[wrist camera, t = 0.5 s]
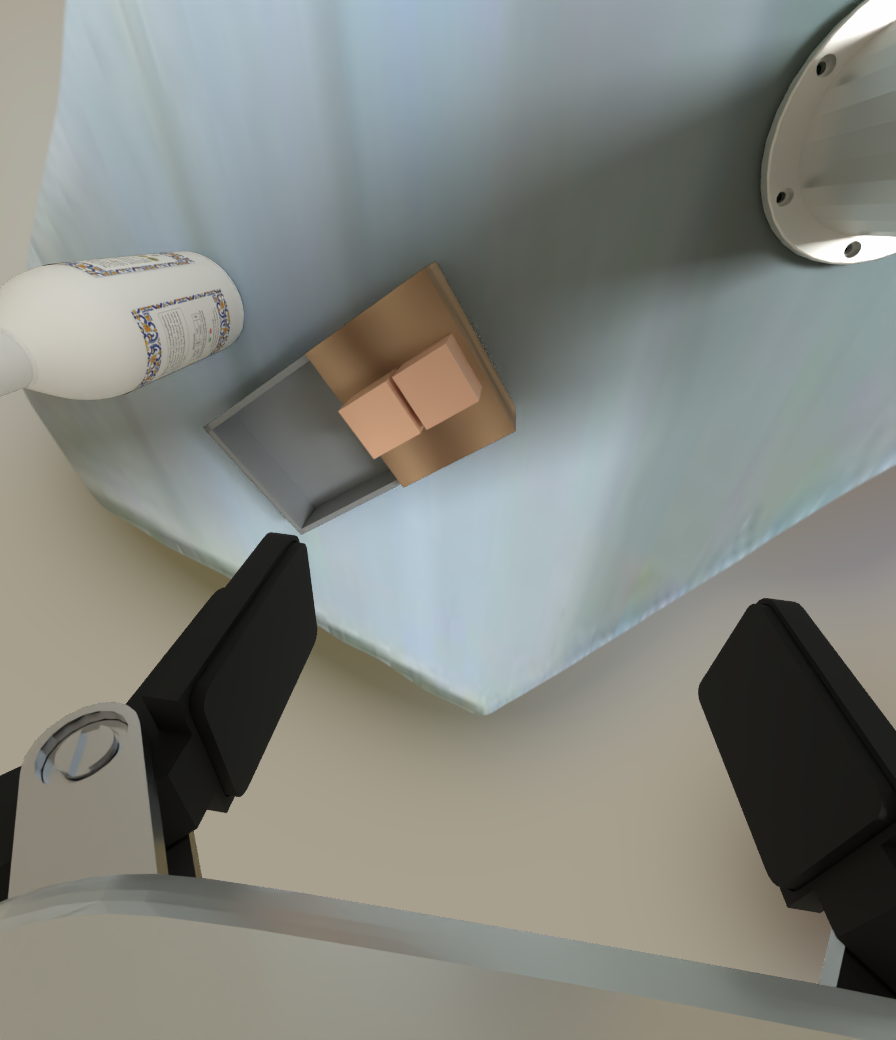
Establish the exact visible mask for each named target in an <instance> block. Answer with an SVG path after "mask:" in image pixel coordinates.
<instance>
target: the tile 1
mask: <svg viewBox="0 0 896 1040" xmlns="http://www.w3.org/2000/svg"><path fill="white" fill-rule="evenodd" d="M392 378H393V380H394V381H395V383H396V384H397V386H398V387H399V389H400V390H401V392H402V393H403V395H404V396H405V398H406V399H407V401H408V402H409V404H410V405H411V407H412V409H413V410H414V412H415V413H416V415H417V416H418V418H419V419H420V421H421V422H422V424H423V425H424V427H425V428H426V430H428V429H430V428H431V427H433V426H435V425H437V424H439V423H440V422H442V421H444V420H446V419H448V418H449V417H451V416H453V415H455V414H457V413H459V412H460V411H462V410H464V409H466V408H468V407H469V406H471V405H473V404H475V403H477V402H478V401H479V399H480V394H481V389H482V385H481V384H480V382H479V380H478V378H477V377H476V375H475V373H474V371H473V370H472V368H471V366H470V364H469V362H468V361H467V359H466V357H465V355H464V354H463V352H462V350H461V348H460V347H459V345H458V343H457V341H456V340H455V338H454V336H453V334H452V333H451V334H449V335H447V336H446V337H444V338H443V339H441V340H440V341H438V342H436V343H435V344H433V345H432V346H430V347H429V348H427V349H425V350H424V351H422V352H421V353H419V354H418V355H416V356H414V357H413V358H411V359H410V360H408V361H407V362H405V363H403V364H402V365H401V366H400V368H399V369H398V370H397V371H396V373H395V374H394V375H393V377H392Z"/></svg>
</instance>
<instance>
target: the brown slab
mask: <svg viewBox="0 0 896 1040" xmlns="http://www.w3.org/2000/svg"><path fill="white" fill-rule="evenodd" d="M451 333H452V334H453V336H454V338H455V340H456V341H457V343H458V345H459V347H460V348H461V350H462V352H463V354H464V355H465V357H466V359H467V361H468V362H469V364H470V366H471V368H472V370H473V371H474V373H475V375H476V377H477V378H478V380H479V382H480V384H481V385H482V389H481V394H480V399H479V401H478V402H477V403H475V404H473V405H471V406H469V407H468V408H466V409H464V410H462V411H460V412H459V413H457V414H455V415H453V416H451V417H449V418H448V419H446V420H444V421H442V422H440V423H439V424H437V425H435V426H433V427H431V428H430V429H428V430H426V428H425V427H423V429H422V431H421V433H420V434H419V435H417V436H415V437H413V438H411V439H410V440H408V441H406V442H404V443H402V444H401V445H399V446H397V447H395V448H393V449H391V450H390V451H388V452H386V453H384V454H382V455H381V458H382V459H383V461H384V462H385V463H386V465H387V466H388V467H389V469H390V470H391V471H392V473H393V474H394V476H395V477H396V478H397V480H398V481H399V482H400V484H401V485H402V486H403V488H404V487H406V486H408V485H410V484H412V483H414V482H416V481H418V480H420V479H422V478H424V477H426V476H428V475H430V474H432V473H434V472H436V471H437V470H439V469H441V468H443V467H445V466H447V465H449V464H451V463H453V462H455V461H457V460H459V459H461V458H463V457H465V456H467V455H469V454H471V453H473V452H475V451H477V450H479V449H481V448H483V447H485V446H487V445H489V444H491V443H493V442H495V441H497V440H499V439H501V438H503V437H505V436H507V435H509V434H511V433H513V432H515V431H516V407H515V405H514V403H513V401H512V399H511V398H510V396H509V394H508V392H507V390H506V388H505V387H504V385H503V383H502V381H501V379H500V377H499V376H498V374H497V372H496V370H495V368H494V366H493V365H492V363H491V361H490V359H489V357H488V355H487V353H486V352H485V350H484V348H483V346H482V344H481V342H480V341H479V339H478V337H477V335H476V333H475V331H474V330H473V328H472V326H471V324H470V322H469V320H468V319H467V317H466V315H465V313H464V311H463V309H462V307H461V306H460V304H459V302H458V300H457V298H456V296H455V295H454V293H453V291H452V289H451V287H450V285H449V284H448V282H447V280H446V278H445V276H444V274H443V273H442V271H441V269H440V267H439V265H438V263H437V262H436V261H435V262H434V263H432V264H430V265H428V266H426V267H425V268H423V269H422V270H420V271H419V272H418V273H416V274H415V275H414V276H412V277H411V278H409V279H408V280H407V281H405V282H404V283H402V284H401V285H400V286H398V287H397V288H396V289H394V290H393V291H391V292H390V293H389V294H387V295H386V296H384V297H383V298H382V299H380V300H379V301H377V302H376V303H375V304H373V305H372V306H371V307H369V308H368V309H366V310H365V311H364V312H362V313H361V314H359V315H358V316H357V317H355V318H354V319H353V320H351V321H350V322H348V323H347V324H346V325H344V326H343V327H341V328H340V329H339V330H337V331H336V332H335V333H333V334H332V335H330V336H329V337H328V338H326V339H325V340H323V341H322V342H321V343H319V344H318V345H317V346H315V347H314V348H312V349H311V350H310V351H308V352H307V353H305V354H306V356H307V357H308V358H309V360H310V361H311V362H312V364H313V365H314V367H315V368H316V369H317V371H318V372H319V373H320V375H321V376H322V377H323V379H324V380H325V382H326V383H327V384H328V386H329V387H330V388H331V390H332V391H333V392H334V394H335V395H336V396H337V398H338V399H339V401H340V402H341V403H342V405H344V404H345V403H346V402H347V401H348V400H349V399H350V398H351V397H352V396H353V395H355V394H356V393H358V392H359V391H361V390H363V389H364V388H366V387H367V386H369V385H370V384H372V383H374V382H375V381H377V380H378V379H380V378H381V377H383V376H385V375H386V374H388V373H389V372H391V371H392V370H394V369H397V370H398V369H399V368H400V366H401V365H402V364H403V363H405V362H407V361H408V360H410V359H411V358H413V357H414V356H416V355H418V354H419V353H421V352H422V351H424V350H425V349H427V348H429V347H430V346H432V345H433V344H435V343H436V342H438V341H440V340H441V339H443V338H444V337H446V336H447V335H449V334H451Z"/></svg>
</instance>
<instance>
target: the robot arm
mask: <svg viewBox="0 0 896 1040" xmlns="http://www.w3.org/2000/svg"><path fill="white" fill-rule="evenodd" d="M818 64H820V65H821V67H822V68H821V72H820V74H819V75H817V73H816V69H817V65H818ZM779 193H781V194H782V198H781V200H780V201H779V202H778V203H776V200H777V196H778V194H779ZM761 196H762V202H763V208H764V213H765V215H766V217H767V220H768V222H769V225H770V227H771V229H772V231H773V232H774V233H775V235H776V236H777V237H778V239H779V240H780V241H781V243H782V244H783V245H785V246H786V247H787V248H789V249H790V250H791V251H793V252H794V253H795V254H797V255H799V256H802V257H804V258H807V259H810V260H812V261H817V262H823V263H828V264H841V265H851V264H857V263H863V262H869V261H875V260H878V259H881V258H884V257H887V256H890V255H893V254H896V0H864V1H862V2H861V3H860V4H859V5H858V6H857V7H856V8H854V9H853V10H852V11H851V12H850V13H849V14H848V15H847V16H846V17H844V18H843V19H842V20H841V21H840V22H839V23H838V24H837V25H836V26H835V27H834V28H833V29H832V30H831V31H830V32H829V33H828V35H827V36H826V37H825V38H824V39H823V40H822V41H821V43H820V44H819V45H818V46H817V47H816V48H815V50H814V51H813V52H812V53H811V54H810V56H809V57H808V59H807V60H806V62H805V63H804V65H803V66H802V68H801V69H800V71H799V72H798V74H797V75H796V77H795V78H794V79H793V81H792V82H791V84H790V86H789V88H788V90H787V92H786V94H785V96H784V98H783V100H782V102H781V104H780V106H779V108H778V110H777V112H776V115H775V118H774V120H773V123H772V126H771V129H770V132H769V134H768V137H767V140H766V145H765V150H764V155H763V160H762V165H761ZM847 245H848V249H847V250H846V252H844V250H845V248H846V247H847ZM316 636H317V623H316V615H315V608H314V600H313V592H312V584H311V577H310V569H309V561H308V553H307V547H306V545H305V544H304V543H300V542H299V539H298V537H297V536H295V535H287V534H280V533H272V532H270V533H268V534H267V535H266V536H265V537H264V538H263V539H262V541H261V542H260V543H259V544H258V546H257V547H256V548H255V550H254V551H253V552H252V553H251V555H250V556H249V557H248V559H247V560H246V561H245V562H244V564H243V565H242V566H241V568H240V569H239V570H238V571H237V573H236V574H235V575H234V577H233V578H232V579H231V580H230V582H229V583H228V584H227V586H226V587H225V588H221V589H219V590H217V591H216V592H215V593H214V594H213V595H212V596H211V598H210V599H209V600H208V602H207V603H206V604H205V605H204V606H203V608H202V609H201V610H200V611H199V613H198V614H197V615H196V616H195V618H194V619H193V620H192V622H191V623H190V624H189V625H188V627H187V628H186V629H185V630H184V632H183V633H182V634H181V636H180V637H179V638H178V639H177V640H176V642H175V643H174V644H173V645H172V647H171V648H170V649H169V651H168V652H167V653H166V654H165V655H164V657H163V658H162V659H161V661H160V662H159V663H158V664H157V666H156V667H155V668H154V669H153V671H152V672H151V673H150V674H149V676H148V677H147V678H146V679H145V681H144V682H143V683H142V685H141V686H140V687H139V688H138V690H137V691H136V692H135V693H134V694H133V696H132V697H131V698H130V699H129V701H128V702H127V703H126V705H125V704H121V703H117V702H107V703H98V704H94V705H91V706H87V707H83V708H81V709H79V710H77V711H75V712H73V713H70V714H68V715H66V716H65V717H63V718H62V719H60V720H59V721H57V722H56V723H55V724H53V725H52V726H50V727H49V728H48V729H47V730H46V731H45V732H44V733H43V734H42V735H41V736H40V737H39V738H38V739H37V740H36V741H35V742H34V743H33V745H32V747H31V748H30V749H29V751H28V752H27V754H26V755H25V757H24V761H23V764H22V766H20V767H18V768H16V769H14V770H11V771H9V772H7V773H5V774H3V775H1V776H0V1040H896V731H895V729H894V728H893V727H892V725H891V724H890V723H889V721H888V720H887V719H886V717H885V716H884V715H883V713H882V712H881V711H880V709H879V708H878V707H877V705H876V704H875V703H874V701H873V700H872V699H871V697H870V696H869V695H868V693H867V692H866V691H865V689H864V688H863V687H862V685H861V684H860V683H859V681H858V680H857V679H856V677H855V676H854V675H853V673H852V672H851V671H850V669H849V668H848V667H847V665H846V664H845V663H844V662H843V660H842V659H841V658H840V656H839V655H838V654H837V652H836V651H835V650H834V648H833V647H832V646H831V644H830V643H829V642H828V640H827V639H826V638H825V636H824V635H823V634H822V632H821V631H820V630H819V628H818V627H817V626H816V624H815V623H814V622H813V620H812V619H811V618H810V616H809V615H808V614H807V612H806V611H805V610H804V608H803V607H802V606H801V605H800V604H798V603H796V602H792V601H784V600H776V599H769V598H763V599H761V600H759V601H758V602H757V603H756V604H752V605H750V606H749V607H748V608H747V610H746V612H745V613H744V615H743V616H742V618H741V619H740V621H739V623H738V624H737V626H736V627H735V629H734V630H733V632H732V634H731V635H730V637H729V638H728V640H727V642H726V643H725V645H724V646H723V648H722V649H721V651H720V653H719V654H718V656H717V657H716V659H715V661H714V662H713V664H712V665H711V667H710V668H709V670H708V672H707V673H706V675H705V676H704V678H703V679H702V681H701V683H700V685H699V689H698V695H699V700H700V703H701V706H702V709H703V711H704V714H705V716H706V719H707V721H708V724H709V726H710V729H711V731H712V734H713V737H714V739H715V742H716V744H717V747H718V749H719V752H720V754H721V757H722V759H723V762H724V765H725V767H726V770H727V772H728V775H729V777H730V780H731V782H732V785H733V788H734V790H735V792H736V795H737V798H738V800H739V803H740V805H741V808H742V811H743V813H744V815H745V818H746V821H747V823H748V826H749V828H750V831H751V833H752V836H753V839H754V841H755V844H756V846H757V849H758V851H759V854H760V856H761V859H762V862H763V864H764V866H765V869H766V871H767V874H768V876H769V877H770V879H771V880H772V882H773V883H774V884H776V885H777V886H779V887H780V890H781V892H782V895H783V897H784V900H785V902H786V904H787V907H788V908H793V909H799V910H805V911H811V912H817V913H821V912H823V911H825V914H826V916H827V918H828V920H829V923H830V925H831V927H832V931H831V935H830V939H829V944H828V948H827V952H826V956H825V960H824V964H823V968H822V972H821V977H820V980H819V984H815V983H809V982H804V981H798V980H792V979H787V978H781V977H775V976H771V975H765V974H760V973H754V972H748V971H743V970H738V969H732V968H727V967H721V966H716V965H710V964H704V963H699V962H693V961H688V960H682V959H677V958H672V957H666V956H661V955H655V954H649V953H644V952H638V951H632V950H627V949H621V948H615V947H610V946H604V945H599V944H593V943H587V942H581V941H576V940H570V939H565V938H559V937H553V936H548V935H541V934H536V933H531V932H524V931H519V930H514V929H508V928H502V927H497V926H490V925H485V924H480V923H474V922H468V921H463V920H456V919H451V918H445V917H439V916H433V915H428V914H422V913H415V912H410V911H404V910H398V909H393V908H387V907H381V906H375V905H369V904H363V903H358V902H352V901H346V900H340V899H334V898H328V897H323V896H317V895H311V894H305V893H299V892H292V891H286V890H279V889H272V888H265V887H259V886H252V885H246V884H239V883H233V882H226V881H219V880H213V879H206V878H202V874H201V869H200V864H199V858H198V852H197V846H196V841H195V835H194V830H195V829H197V828H198V825H199V824H200V822H201V820H202V818H203V816H204V814H205V812H206V810H213V811H218V812H224V813H227V812H228V810H229V807H230V805H231V803H232V801H233V799H234V797H235V796H236V797H241V796H242V795H243V794H244V793H245V791H246V790H247V788H248V786H249V784H250V782H251V780H252V778H253V775H254V773H255V771H256V769H257V767H258V764H259V762H260V760H261V758H262V756H263V754H264V752H265V749H266V747H267V745H268V743H269V741H270V739H271V737H272V734H273V732H274V730H275V728H276V726H277V724H278V721H279V719H280V717H281V715H282V713H283V711H284V708H285V706H286V704H287V702H288V700H289V697H290V695H291V693H292V691H293V689H294V687H295V685H296V683H297V680H298V678H299V676H300V674H301V672H302V670H303V667H304V665H305V663H306V661H307V659H308V657H309V654H310V652H311V650H312V648H313V646H314V643H315V640H316Z"/></svg>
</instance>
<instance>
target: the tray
mask: <svg viewBox="0 0 896 1040" xmlns="http://www.w3.org/2000/svg"><path fill="white" fill-rule="evenodd" d="M342 406H343V405H342V403H341V402H340V401H339V399H338V398H337V396H336V395H335V394H334V392H333V391H332V390H331V388H330V387H329V386H328V384H327V383H326V382H325V380H324V379H323V377H322V376H321V375H320V373H319V372H318V371H317V369H316V368H315V367H314V365H313V364H312V362H311V361H310V360H309V358H308V357H307V356H306V354H305V355H303V356H302V357H300V358H299V359H298V360H296V361H295V362H294V363H292V364H291V365H289V366H288V367H287V368H285V369H284V370H282V371H281V372H280V373H278V374H277V375H276V376H274V377H273V378H271V379H270V380H269V381H267V382H266V383H264V384H263V385H262V386H260V387H259V388H258V389H256V390H255V391H253V392H252V393H251V394H249V395H248V396H246V397H245V398H244V399H242V400H241V401H240V402H238V403H237V404H235V405H234V406H233V407H231V408H230V409H228V410H227V411H226V412H224V413H223V414H221V415H220V416H219V417H217V418H216V419H215V420H213V421H212V422H210V423H209V424H208V425H206V426H205V427H203V428H204V429H205V430H206V431H207V432H208V433H209V434H210V435H211V437H212V438H213V439H214V440H215V441H216V442H217V443H218V444H219V445H220V446H221V448H222V449H223V450H224V451H225V452H226V453H227V454H228V455H229V456H230V457H231V459H232V460H233V461H234V462H235V463H236V464H237V465H238V466H239V467H240V468H241V469H242V471H243V472H244V473H245V474H246V475H247V476H248V477H249V478H250V479H251V480H252V482H253V483H254V484H255V485H256V486H257V487H258V488H259V489H260V490H261V491H262V493H263V494H264V495H265V496H266V497H267V498H268V499H269V500H270V501H271V502H272V503H273V505H274V506H275V507H276V508H277V509H278V510H279V511H280V512H281V513H282V514H283V516H284V517H285V518H286V519H287V520H288V521H289V522H290V523H291V524H292V525H293V527H294V528H295V529H296V530H297V531H298V532H299V533H300V534H301V535H302V534H304V533H306V532H308V531H310V530H312V529H314V528H316V527H318V526H320V525H322V524H324V523H326V522H328V521H330V520H332V519H334V518H336V517H337V516H339V515H341V514H343V513H345V512H347V511H349V510H351V509H353V508H355V507H357V506H359V505H361V504H363V503H365V502H367V501H369V500H371V499H373V498H375V497H377V496H379V495H381V494H383V493H385V492H387V491H389V490H390V489H392V488H394V487H396V486H398V485H400V482H399V481H398V480H397V478H396V477H395V476H394V474H393V473H392V471H391V470H390V469H389V467H388V466H387V465H386V463H385V462H384V461H383V459H382V458H381V456H379V457H377V458H375V459H373V457H372V456H371V455H370V453H369V452H368V451H367V449H366V448H365V447H364V445H363V444H362V443H361V441H360V440H359V439H358V437H357V436H356V435H355V433H354V432H353V431H352V429H351V428H350V426H349V425H348V424H347V422H346V421H345V420H344V418H343V417H342V416H341V414H340V413H339V412H338V411H339V410H340V409H341V408H342Z"/></svg>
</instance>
